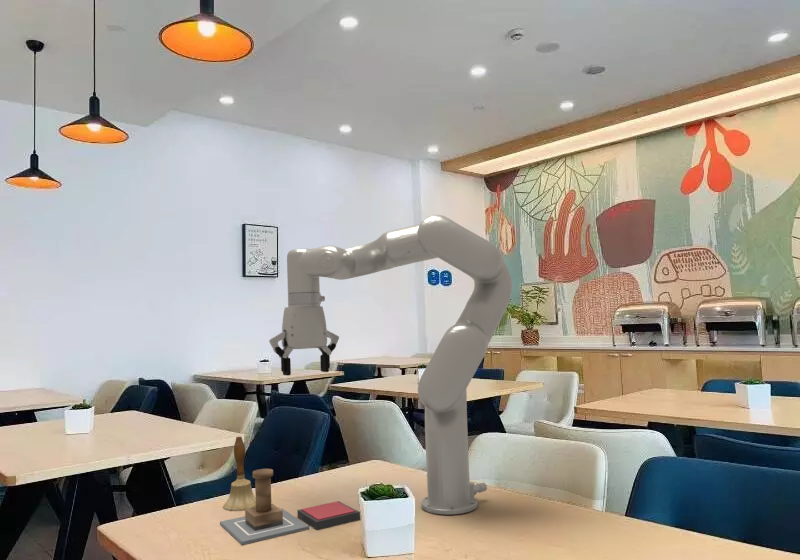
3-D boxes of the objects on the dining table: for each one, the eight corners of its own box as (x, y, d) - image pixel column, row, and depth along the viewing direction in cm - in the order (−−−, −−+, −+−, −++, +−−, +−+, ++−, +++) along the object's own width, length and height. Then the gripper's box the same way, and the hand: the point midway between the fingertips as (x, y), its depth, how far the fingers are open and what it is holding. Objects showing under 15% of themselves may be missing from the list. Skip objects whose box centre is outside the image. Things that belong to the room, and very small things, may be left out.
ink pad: (338, 508, 136) (338, 500, 136) (359, 519, 128) (359, 511, 128) (297, 517, 131) (297, 509, 131) (316, 530, 122) (316, 521, 123)
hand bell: (238, 513, 136) (236, 441, 137) (215, 507, 141) (214, 438, 142) (267, 503, 142) (265, 435, 143) (244, 498, 147) (243, 432, 148)
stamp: (272, 517, 130) (271, 466, 131) (282, 524, 125) (281, 471, 126) (245, 523, 127) (244, 470, 127) (254, 530, 122) (253, 476, 122)
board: (282, 511, 136) (282, 508, 136) (309, 529, 123) (309, 525, 123) (220, 524, 128) (219, 521, 128) (242, 545, 116) (241, 541, 116)
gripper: (330, 301, 151) (332, 369, 150) (263, 302, 142) (265, 375, 140) (343, 299, 145) (346, 371, 143) (275, 300, 135) (277, 377, 134)
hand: (306, 373), depth 142 cm, fingers open, 9 cm apart
